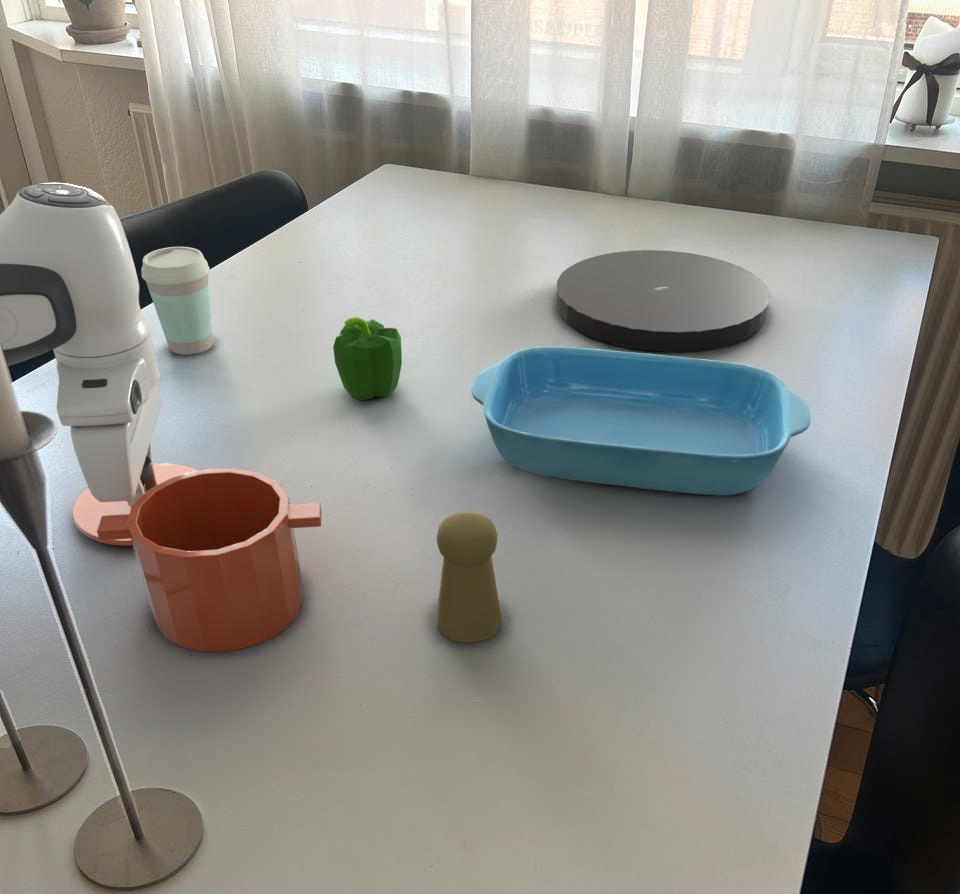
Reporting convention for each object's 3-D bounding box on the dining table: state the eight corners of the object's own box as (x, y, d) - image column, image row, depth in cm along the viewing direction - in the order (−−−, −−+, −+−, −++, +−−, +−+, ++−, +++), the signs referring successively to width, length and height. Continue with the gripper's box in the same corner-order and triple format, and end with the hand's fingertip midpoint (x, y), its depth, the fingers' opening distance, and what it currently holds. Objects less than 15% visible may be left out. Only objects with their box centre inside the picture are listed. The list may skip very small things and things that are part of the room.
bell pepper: (394, 372, 129) (389, 296, 122) (411, 400, 123) (407, 322, 117) (330, 382, 127) (322, 305, 121) (345, 411, 121) (337, 333, 115)
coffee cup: (208, 327, 140) (191, 240, 132) (233, 349, 135) (217, 259, 127) (149, 342, 136) (128, 253, 128) (172, 365, 131) (152, 274, 123)
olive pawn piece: (514, 614, 92) (516, 515, 85) (478, 651, 88) (476, 550, 81) (460, 592, 94) (457, 493, 87) (422, 627, 91) (416, 527, 83)
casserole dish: (794, 417, 119) (806, 361, 115) (802, 521, 103) (817, 461, 98) (491, 391, 125) (491, 336, 120) (453, 486, 108) (452, 427, 104)
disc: (659, 254, 160) (661, 234, 158) (810, 314, 142) (814, 293, 140) (513, 300, 146) (513, 280, 144) (660, 374, 128) (663, 352, 126)
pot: (331, 644, 89) (317, 548, 82) (113, 659, 88) (81, 563, 81) (332, 554, 99) (320, 462, 92) (137, 567, 98) (110, 474, 91)
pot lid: (211, 545, 100) (200, 497, 97) (61, 555, 99) (44, 507, 96) (224, 468, 111) (215, 423, 108) (89, 476, 110) (75, 430, 107)
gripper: (95, 322, 102) (127, 441, 111) (51, 419, 87) (93, 548, 96) (158, 319, 103) (185, 438, 112) (125, 415, 87) (159, 544, 96)
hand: (142, 490), depth 104 cm, fingers open, 3 cm apart
